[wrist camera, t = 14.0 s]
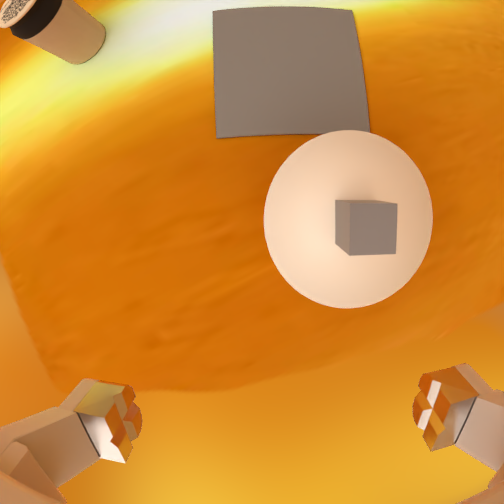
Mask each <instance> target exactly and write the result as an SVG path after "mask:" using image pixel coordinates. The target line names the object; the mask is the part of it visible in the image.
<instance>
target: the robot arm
mask: <svg viewBox="0 0 504 504" xmlns="http://www.w3.org/2000/svg"><path fill="white" fill-rule="evenodd" d="M418 386H419V388H420V389H421V391H420V392H419V393H418V395H417V396H416V397H415V399H414V403H413V417H414V421H415V423H416V425H417V427H419V428H421V429H423V430H424V434H423V438H424V440H425V442H426V444H427V446H428V447H429V449H430V451H434V450H438V449H441V448H444V447H448V446H451V445H454V444H455V446H456V447H458V448H459V449H461V450H463V451H464V452H466V453H467V454H469V455H471V456H472V457H474V458H475V459H477V460H479V461H480V462H482V463H484V464H485V465H487V466H488V467H490V468H492V469H493V470H495V471H496V472H497V473H496V474H495V476H494V477H493V478H492V480H491V481H490V483H489V485H488V488H489V489H487V490H485V491H483V492H481V493H479V494H477V495H475V496H472V497H470V498H468V499H466V500H464V501H461V502H459V503H457V504H504V392H503V391H500V390H494V391H493V389H491V387H489V385H488V384H487V383H486V382H485V381H484V380H483V379H482V378H481V377H480V376H479V375H478V374H477V373H476V372H475V371H474V370H473V369H472V368H471V366H470V365H468V364H466V363H464V364H460V365H456V366H453V367H451V368H447V369H443V370H439V371H434V372H430V373H425V374H423V375H422V377H421V378H420V381H419V385H418ZM134 398H135V393H134V391H133V388H132V387H131V386H129V385H126V384H119V383H113V382H107V381H102V380H100V381H99V380H95V379H89V378H85V379H82V381H81V382H80V383H79V384H78V385H77V386H76V388H75V389H74V390H73V391H72V392H71V393H70V394H69V396H68V397H67V398H66V399H65V400H64V402H63V403H62V404H61V405H60V406H59V407H52V408H50V409H47V410H45V411H42V412H40V413H37V414H35V415H32V416H30V417H27V418H24V419H22V420H19V421H16V422H14V423H11V424H8V425H5V426H3V427H0V504H66V503H67V502H66V499H65V497H64V496H63V495H62V494H61V493H60V492H59V490H58V489H57V487H59V486H61V485H62V484H64V483H65V482H67V481H68V480H70V479H71V478H73V477H74V476H76V475H77V474H79V473H80V472H82V471H83V470H85V469H86V468H88V467H89V466H91V465H92V464H94V463H95V462H96V461H98V460H99V459H100V458H104V459H108V460H113V461H117V462H122V463H126V461H127V459H128V457H129V455H130V453H131V451H132V449H133V446H132V444H131V441H132V440H134V439H136V438H137V437H138V436H139V433H140V432H141V427H142V415H141V412H140V408H139V407H138V406H137V405H136V404H135V403H134V402H133V400H134Z"/></svg>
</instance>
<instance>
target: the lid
mask: <svg viewBox="0 0 504 504" xmlns="http://www.w3.org/2000/svg"><path fill="white" fill-rule="evenodd" d="M432 224H433V213H432V204H431V198H430V194H429V191H428V188H427V185H426V183H425V180H424V178H423V176H422V174H421V172H420V171H419V169H418V167H417V166H416V165H415V163H414V162H413V161H412V159H411V158H410V157H409V156H408V155H407V154H406V153H405V152H404V151H403V150H401V149H400V148H399V147H398V146H396V145H395V144H393V143H392V142H390V141H388V140H387V139H385V138H383V137H380V136H378V135H376V134H372V133H368V132H365V131H357V130H341V131H335V132H329V133H326V134H323V135H320V136H318V137H316V138H314V139H311V140H309V141H308V142H306V143H305V144H303V145H302V146H300V147H299V148H298V149H297V150H295V151H294V152H293V153H292V154H291V155H290V156H289V157H288V158H287V159H286V161H285V162H284V163H283V164H282V165H281V167H280V168H279V170H278V172H277V173H276V175H275V176H274V179H273V181H272V183H271V185H270V188H269V191H268V194H267V198H266V203H265V209H264V230H265V238H266V242H267V246H268V249H269V252H270V255H271V257H272V260H273V261H274V263H275V265H276V267H277V269H278V270H279V272H280V273H281V275H282V276H283V277H284V279H285V280H286V281H287V282H288V283H289V284H290V285H291V286H292V287H293V288H294V289H296V290H297V291H298V292H299V293H301V294H302V295H304V296H305V297H307V298H309V299H310V300H313V301H315V302H317V303H320V304H323V305H327V306H330V307H337V308H357V307H364V306H367V305H371V304H374V303H377V302H379V301H382V300H384V299H385V298H387V297H389V296H391V295H392V294H394V293H395V292H396V291H398V290H399V289H400V288H402V287H403V286H404V285H405V284H406V283H407V282H408V281H409V280H410V278H411V277H412V276H413V275H414V273H415V272H416V271H417V269H418V267H419V266H420V264H421V262H422V260H423V258H424V256H425V254H426V251H427V249H428V246H429V242H430V238H431V233H432Z"/></svg>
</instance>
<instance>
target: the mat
mask: <svg viewBox="0 0 504 504" xmlns="http://www.w3.org/2000/svg"><path fill="white" fill-rule="evenodd" d="M213 53H214V87H215V114H216V136H217V138H229V137H243V136H261V135H289V134H326V133H329V132H335V131H341V130H357V131H365V132H368V133H370V125H369V115H368V105H367V96H366V88H365V80H364V73H363V66H362V60H361V54H360V48H359V42H358V37H357V32H356V27H355V22H354V17H353V12H352V10H343V9H332V8H317V7H253V8H238V9H227V10H218V11H213Z"/></svg>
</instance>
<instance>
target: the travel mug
mask: <svg viewBox="0 0 504 504" xmlns="http://www.w3.org/2000/svg"><path fill="white" fill-rule="evenodd" d="M0 27H2V28H7V27H9V28H10V29H11V31H12V34H13V35H15V36H17V37H19V38H21V39H23V40H25V41H27V42H29V43H32V44H34V45H36V46H38V47H40V48H42V49H44V50H46V51H48V52H50V53H52V54H54V55H56V56H58V57H60V58H62V59H64V60H66V61H67V62H69V63H71V64H80V63H83V62H85V61H87V60H89V59H90V58H91V57H93V56H94V55H95V54H96V53H97V52H98V50H99V49H100V47H101V46H102V44H103V42H104V39H105V28H104V26H103V25H102V24H101V23H99V22H98V21H97V20H96V19H95V18H93V17H92V16H91V15H90V14H89V13H87V12H86V11H85V10H84V9H83V8H81V7H80V6H79V5H78V4H77V3H75V2H74V1H73V0H6V2H5V3H4V5H3V7H2V9H1V11H0Z"/></svg>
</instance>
